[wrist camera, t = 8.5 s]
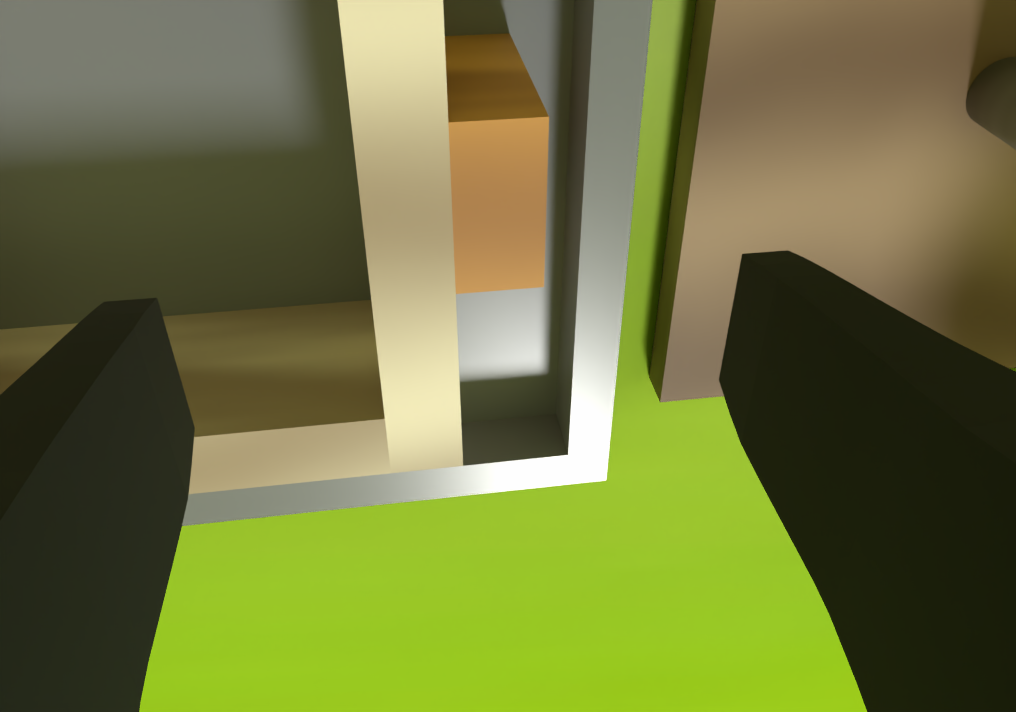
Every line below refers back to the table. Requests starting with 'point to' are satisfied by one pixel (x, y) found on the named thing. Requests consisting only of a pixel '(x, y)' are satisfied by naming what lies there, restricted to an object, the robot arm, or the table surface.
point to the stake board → (844, 167)
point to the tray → (313, 206)
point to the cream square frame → (375, 270)
